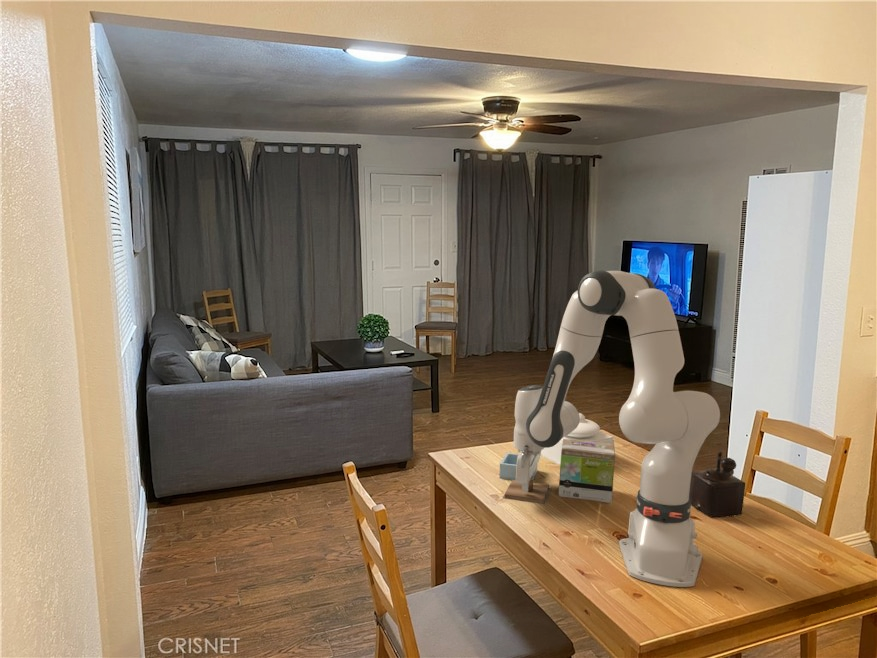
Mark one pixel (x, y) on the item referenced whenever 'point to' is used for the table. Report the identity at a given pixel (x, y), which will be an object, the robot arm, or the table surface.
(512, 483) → the lid
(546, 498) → the mat
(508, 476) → the dish
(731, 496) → the coffee grinder
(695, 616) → the table surface
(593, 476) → the tea box
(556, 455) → the white lidded container
